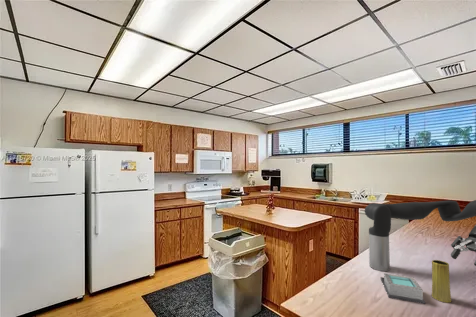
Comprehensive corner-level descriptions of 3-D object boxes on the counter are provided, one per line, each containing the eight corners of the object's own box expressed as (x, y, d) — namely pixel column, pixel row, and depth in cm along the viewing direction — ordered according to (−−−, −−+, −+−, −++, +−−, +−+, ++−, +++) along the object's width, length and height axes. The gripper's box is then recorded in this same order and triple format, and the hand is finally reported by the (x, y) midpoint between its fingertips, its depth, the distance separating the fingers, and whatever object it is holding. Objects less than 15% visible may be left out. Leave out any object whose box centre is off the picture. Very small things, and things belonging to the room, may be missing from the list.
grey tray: (380, 279, 111) (380, 268, 111) (411, 284, 106) (410, 272, 107) (388, 297, 95) (388, 284, 95) (425, 303, 91) (424, 290, 91)
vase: (442, 294, 98) (440, 259, 98) (456, 302, 92) (454, 265, 92) (427, 294, 97) (426, 259, 98) (440, 303, 91) (439, 265, 92)
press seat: (389, 280, 103) (389, 278, 103) (409, 283, 101) (409, 281, 101) (393, 288, 97) (393, 285, 97) (415, 291, 94) (415, 289, 94)
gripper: (513, 243, 91) (490, 275, 89) (472, 233, 105) (451, 261, 103) (502, 230, 91) (478, 262, 88) (461, 221, 105) (440, 249, 103)
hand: (463, 261), depth 96 cm, fingers open, 8 cm apart
